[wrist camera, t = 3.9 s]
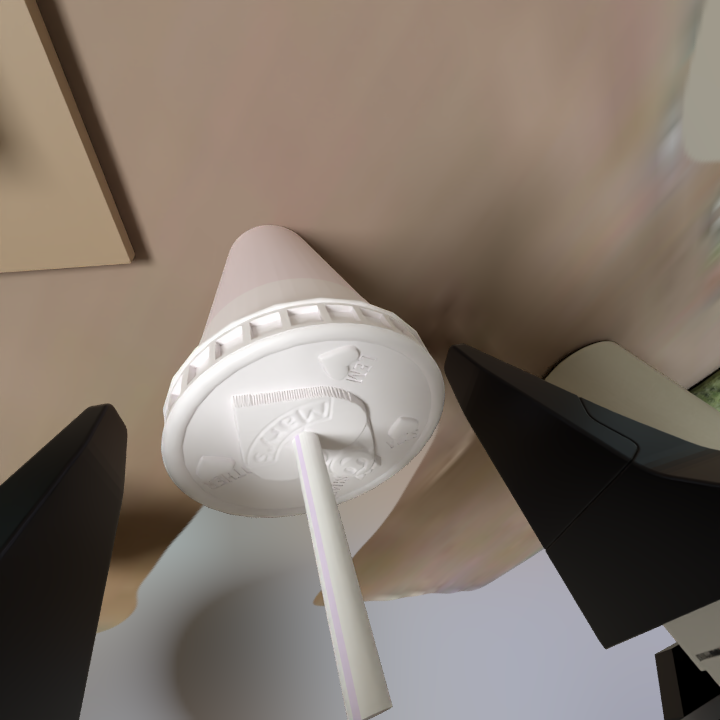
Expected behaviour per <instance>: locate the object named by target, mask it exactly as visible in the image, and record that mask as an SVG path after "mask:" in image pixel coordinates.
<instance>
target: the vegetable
mask: <svg viewBox="0 0 720 720" xmlns="http://www.w3.org/2000/svg"><path fill="white" fill-rule="evenodd" d="M689 392H690V393H692V394H693V395H695V396H696V397H698V398H699V399H701V400H702V401H704V402H705V403H707V404H708V405H710V406H711V407H713V408H714V409H716V410H718V411H719V412H720V370H719V371H717V372H716V373H714V374H713V375H712V376H710V377H709V378H708V379H706V380H705V381H704V382H702V383H701V384H700V385H698V386H696V387H695V388H693V389H692V390H690V391H689Z"/></svg>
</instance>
